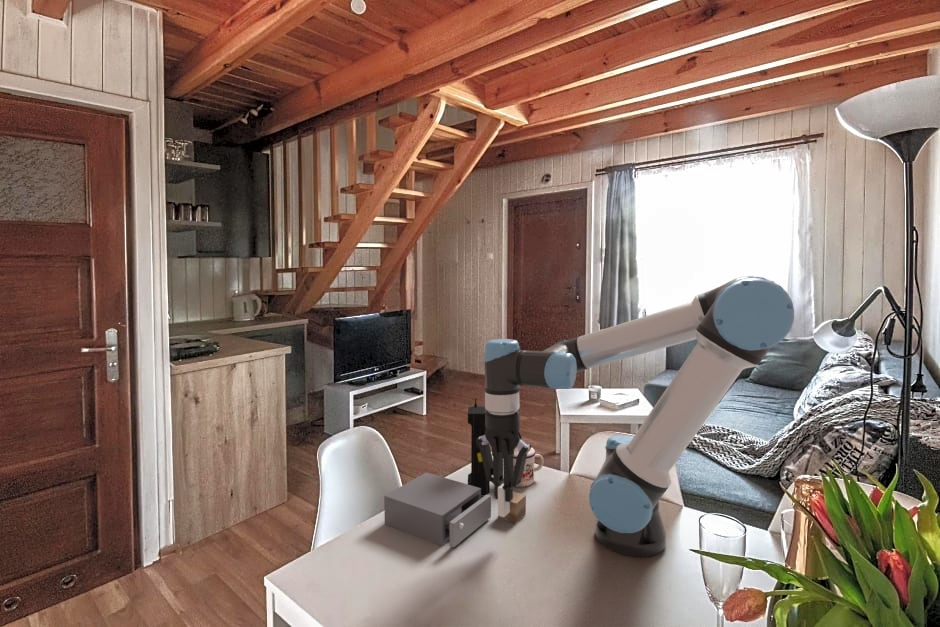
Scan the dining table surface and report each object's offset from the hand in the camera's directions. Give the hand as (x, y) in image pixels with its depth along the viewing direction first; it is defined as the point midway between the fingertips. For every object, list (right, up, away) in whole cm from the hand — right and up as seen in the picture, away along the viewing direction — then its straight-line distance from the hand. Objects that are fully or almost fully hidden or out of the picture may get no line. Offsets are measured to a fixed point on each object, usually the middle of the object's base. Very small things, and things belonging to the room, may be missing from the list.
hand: (504, 513), depth 112 cm
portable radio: (-5, -4, +25) cm, 26 cm away
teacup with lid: (+8, -3, +32) cm, 33 cm away
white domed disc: (-14, -4, +8) cm, 16 cm away
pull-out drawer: (-14, -5, +8) cm, 17 cm away
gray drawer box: (-16, -5, +10) cm, 20 cm away
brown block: (+3, -5, +12) cm, 13 cm away
